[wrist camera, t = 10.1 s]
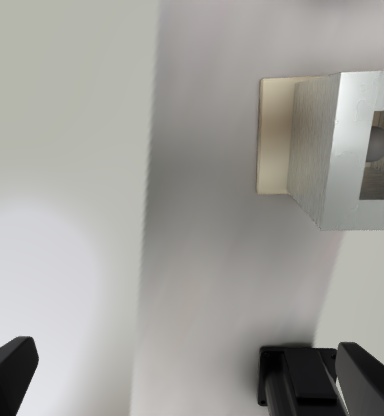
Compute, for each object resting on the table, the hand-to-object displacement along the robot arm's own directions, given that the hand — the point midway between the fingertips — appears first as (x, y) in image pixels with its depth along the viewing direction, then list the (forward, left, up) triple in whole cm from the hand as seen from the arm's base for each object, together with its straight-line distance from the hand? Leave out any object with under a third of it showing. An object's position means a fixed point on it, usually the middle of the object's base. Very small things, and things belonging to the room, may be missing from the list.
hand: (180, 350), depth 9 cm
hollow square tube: (+4, -9, -12) cm, 16 cm away
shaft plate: (+4, -9, -13) cm, 16 cm away
